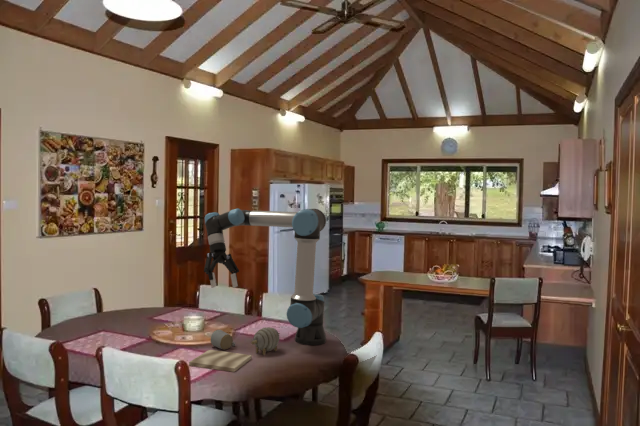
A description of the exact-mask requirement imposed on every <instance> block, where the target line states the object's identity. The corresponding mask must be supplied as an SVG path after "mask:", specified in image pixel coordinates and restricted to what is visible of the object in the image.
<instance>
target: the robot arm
mask: <svg viewBox="0 0 640 426" xmlns="http://www.w3.org/2000/svg"><path fill="white" fill-rule="evenodd" d="M326 224H327V217H326V214H325V213H324V212H323V211H322V210H321V209H318V208H304V209H300V210H299V211H278V210H275V211H273V210H247V209H240V208H238V207H237V208H235V209H231V210H228V211H226V212H224V213H222V214H219V212H208V213H207V214H205V216H204V226H205V230H206V235H207V241H208V245H209V247H208V248H209V252H208V253H206V261H205V263H204V268H203V272H204V273H206V275H207V276H208V279H209V281H210V287H211V288H215V287H217V280H216V275H215V272H213V271H214V269H215V267H216V265H217V264H222V265H224V267H225V268H226V269H227V270H228V271H229V272H230V279H231V284H232V288H233V289H235V288H237V287H239V286H238V276H237V274H238V273H239V272H240V269H239V268H238V265H236V262H235V261H234V259H233V257H232V254H231V253H228V254H227V253H226V251H227V246H226V243H225V236H224V230H228V229H230V228H233V227H240V226H254V227H255V226H256V227H275V228H276V227H278V228H279V227H280V228H292V230H293V231H294V239H295V241H296V242H297V243H296V259H295V260H296V261H295V276H294V277H295V278H294V292H293V294H291V296H290V302H289V303H290V305H289V306H288V308H287V310H286V318H287V321H288V322H289V323H290V325H291V326H293V327H295V328H297V330H296V333H295V336H294V340H295V342H296V343H298V344H301V345H307V346H319V345H323V344H325V343H326V342H327V336H326V331H325V327H324V314H325V296H324V295H323V294H318V293H314V281H315V269H316V268H315V267H316V266H315V265H316V264H315V263H316V252H317V251H316V250H317V248H316V246H317V242H319V240H320V237H321V231H323V230H324V228H325V227H326Z"/></svg>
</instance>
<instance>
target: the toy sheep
mask: <svg viewBox="0 0 640 426" xmlns="http://www.w3.org/2000/svg"><path fill="white" fill-rule="evenodd" d="M280 334H281V333H280V332H279V331H278V330H277V328H275V327H270V326H269V327H262V328H260V329H259V330H257V331H256V332H255V334H253V340H252V341H251V342H250V343H251V344H252V345H254V346H255V353H256V354H258V353H259V352H260V351H262V355H263V356H265V355H266V352H271V351H272V350H273V349H274V350H273V351H274V352H277V351H278V345H279V342H280Z"/></svg>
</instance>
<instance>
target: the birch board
mask: <svg viewBox="0 0 640 426" xmlns="http://www.w3.org/2000/svg"><path fill="white" fill-rule="evenodd" d="M252 359H253V358H252V354H246V353H236V352H230V351H223V350H216V349H208V350H206V351H205V352H203V353H202V354H200V355H198V356H197V357H194V358H193V359H192V360H190V361H189V362H188V366H190V367H196V368H203V369H210V370H218V371H225V372H232V373H235V372H236V371H238V370H239V369H240V368H242V367H243V366H244V365H246V364H247V363H248V362H249V361H251V360H252Z"/></svg>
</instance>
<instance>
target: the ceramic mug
mask: <svg viewBox="0 0 640 426" xmlns="http://www.w3.org/2000/svg"><path fill="white" fill-rule="evenodd" d="M210 344H211V345H212V346H214V347H215V348H219V349H221V350H224V351H225V350H228V349H230V348H231V347H235V346H236V342H234V339H233V336H232V335H231V334H229V333H228V332H225V331H224V330H222V329H216V330H215V331H213V332H212V334H211V335H210Z"/></svg>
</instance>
